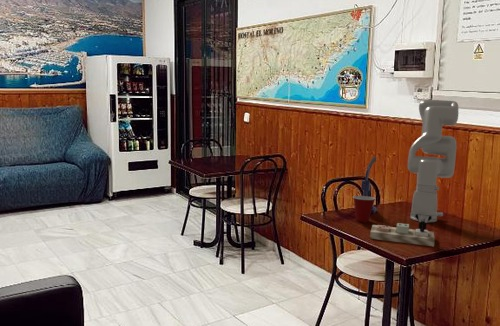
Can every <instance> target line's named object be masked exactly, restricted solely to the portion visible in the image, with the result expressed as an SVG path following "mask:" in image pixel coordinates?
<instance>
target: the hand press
mask: <svg viewBox="0 0 500 326" xmlns="http://www.w3.org/2000/svg"><path fill="white" fill-rule="evenodd" d="M376 161H377V156H373V157H372V158H371V160H370V161H369V163H368V165H367V168H366V171H365V177H364V180H361V186H360V187H361V188H360V190H361V191H362V196H368V197H372V184H371V181H370V180H369V175H370V172H371V169H372V167H373V164H375V163H376ZM377 209H378V208H377V207H376V206H374V205H373V206H372V210H371V214H375V213H377Z"/></svg>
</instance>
